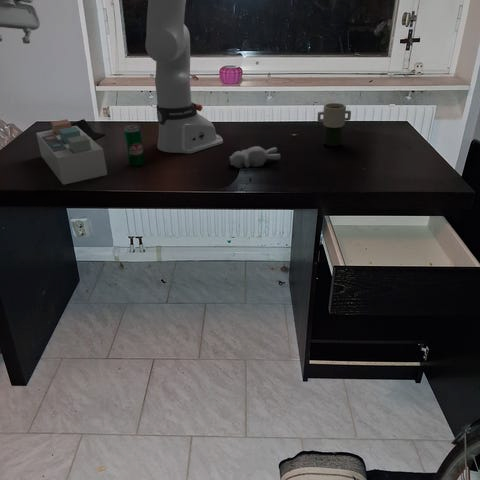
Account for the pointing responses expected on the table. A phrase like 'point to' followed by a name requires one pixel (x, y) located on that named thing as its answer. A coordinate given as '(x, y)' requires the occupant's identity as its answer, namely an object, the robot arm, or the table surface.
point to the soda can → (134, 145)
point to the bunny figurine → (253, 157)
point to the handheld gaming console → (88, 130)
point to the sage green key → (79, 144)
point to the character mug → (333, 122)
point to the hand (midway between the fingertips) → (13, 42)
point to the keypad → (71, 158)
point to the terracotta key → (60, 126)
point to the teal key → (68, 134)
